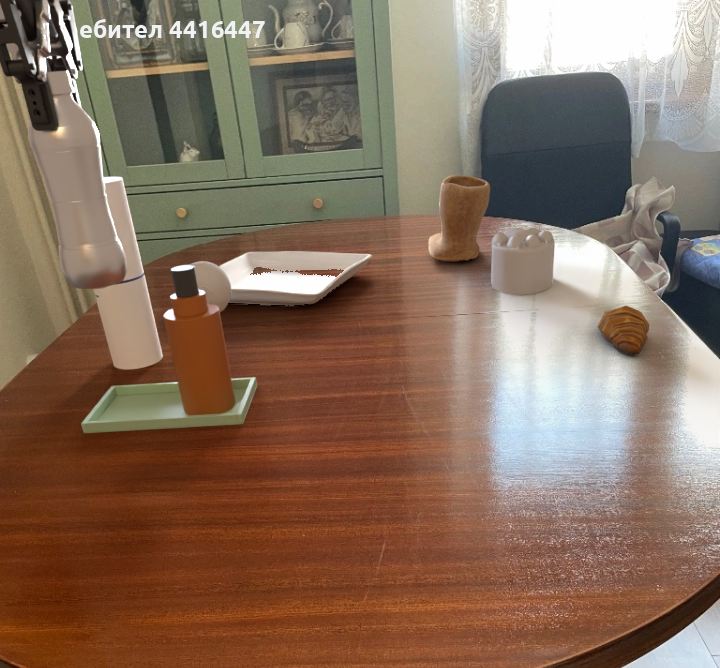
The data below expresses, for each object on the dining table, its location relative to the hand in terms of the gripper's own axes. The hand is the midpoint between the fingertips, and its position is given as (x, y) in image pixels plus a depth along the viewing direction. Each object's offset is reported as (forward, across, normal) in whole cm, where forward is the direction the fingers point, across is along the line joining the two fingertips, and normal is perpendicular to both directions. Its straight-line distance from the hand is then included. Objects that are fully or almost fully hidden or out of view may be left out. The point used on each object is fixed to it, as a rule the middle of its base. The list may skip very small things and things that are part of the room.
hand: (59, 125), depth 69 cm
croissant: (+32, -21, +62) cm, 73 cm away
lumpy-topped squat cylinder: (+32, -51, +53) cm, 80 cm away
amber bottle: (+32, -6, +8) cm, 34 cm away
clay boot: (+33, -73, +44) cm, 91 cm away
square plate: (+33, -58, +10) cm, 67 cm away
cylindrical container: (+33, -23, -7) cm, 41 cm away
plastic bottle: (+16, 0, 0) cm, 16 cm away
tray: (+33, -5, +3) cm, 34 cm away
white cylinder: (+33, -18, +6) cm, 38 cm away
